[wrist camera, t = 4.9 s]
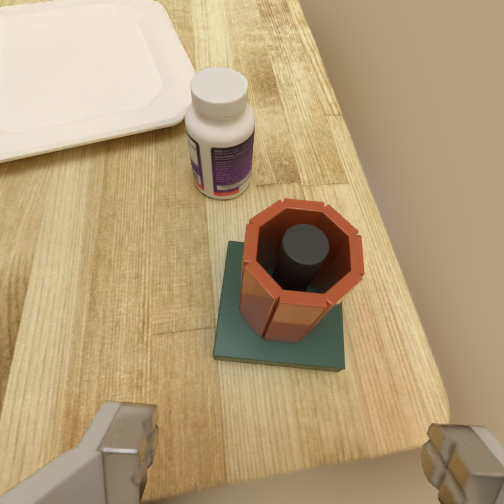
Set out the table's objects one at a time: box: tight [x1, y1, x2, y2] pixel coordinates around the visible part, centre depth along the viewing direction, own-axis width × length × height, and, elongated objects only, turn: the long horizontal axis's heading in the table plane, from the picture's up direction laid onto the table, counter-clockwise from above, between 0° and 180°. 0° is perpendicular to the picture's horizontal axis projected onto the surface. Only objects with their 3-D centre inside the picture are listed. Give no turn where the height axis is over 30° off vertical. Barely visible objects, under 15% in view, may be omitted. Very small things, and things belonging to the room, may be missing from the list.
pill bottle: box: [185, 67, 255, 199], centre depth 26 cm, size 5×5×10 cm
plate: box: [0, 0, 196, 163], centre depth 35 cm, size 25×25×2 cm
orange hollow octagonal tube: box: [239, 198, 365, 343], centre depth 20 cm, size 6×6×8 cm
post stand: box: [213, 224, 345, 372], centre depth 21 cm, size 9×9×10 cm
